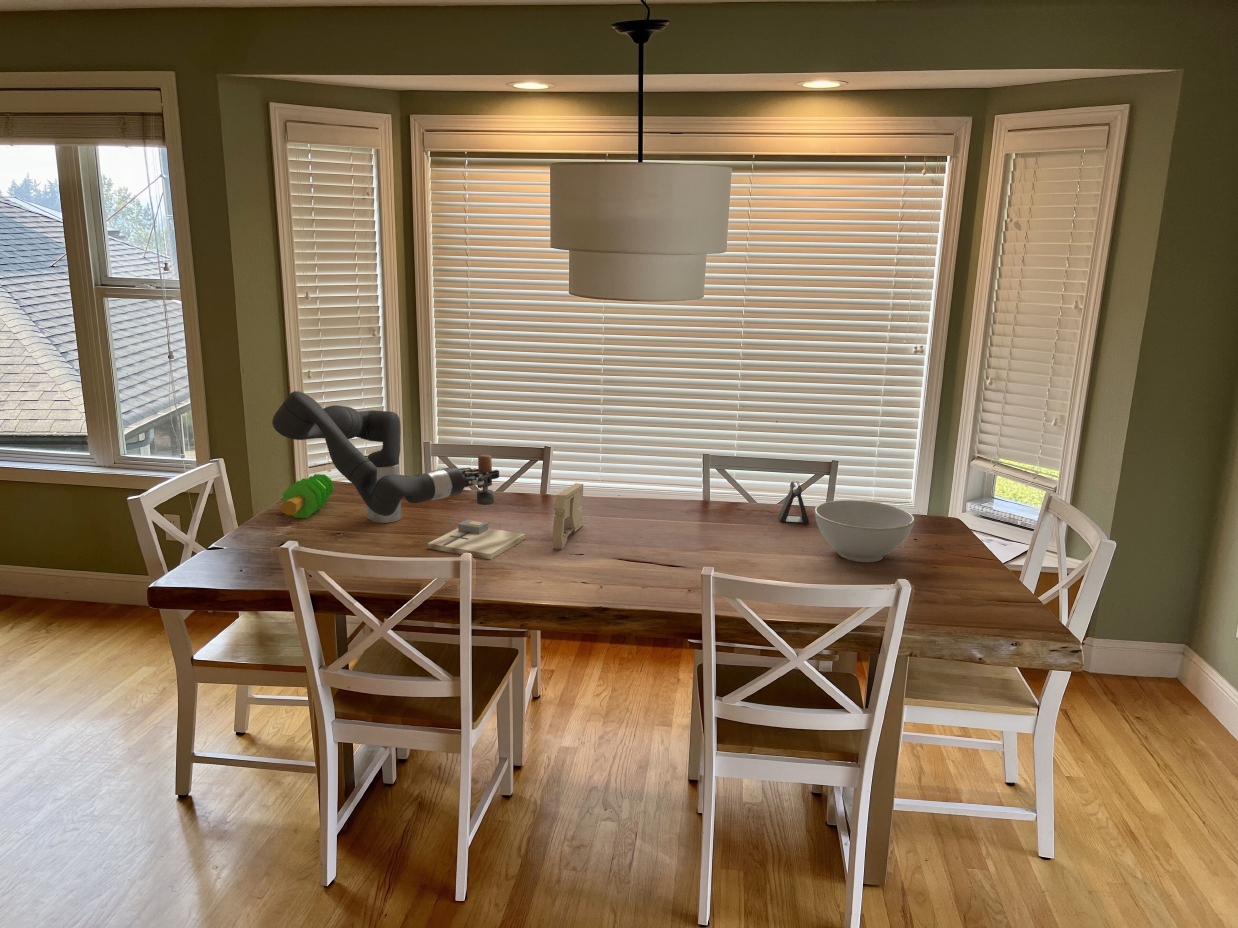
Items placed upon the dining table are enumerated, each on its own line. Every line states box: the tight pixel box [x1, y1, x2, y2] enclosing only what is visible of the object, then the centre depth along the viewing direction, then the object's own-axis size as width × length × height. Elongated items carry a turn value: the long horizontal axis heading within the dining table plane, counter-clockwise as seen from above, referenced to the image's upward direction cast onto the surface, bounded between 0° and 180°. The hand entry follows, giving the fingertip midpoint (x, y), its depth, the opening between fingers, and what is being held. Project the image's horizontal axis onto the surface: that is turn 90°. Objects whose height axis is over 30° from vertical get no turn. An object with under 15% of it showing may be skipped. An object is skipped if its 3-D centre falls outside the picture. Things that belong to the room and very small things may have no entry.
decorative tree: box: [280, 473, 334, 519], centre depth 280 cm, size 11×12×30 cm
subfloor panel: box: [427, 527, 526, 560], centre depth 253 cm, size 20×19×2 cm
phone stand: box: [778, 480, 810, 525], centre depth 280 cm, size 9×6×12 cm, turn 84°
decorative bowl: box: [814, 499, 916, 563], centre depth 250 cm, size 27×27×12 cm
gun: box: [551, 482, 584, 550], centre depth 259 cm, size 24×3×15 cm, turn 168°
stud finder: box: [457, 518, 489, 534], centre depth 260 cm, size 7×5×2 cm
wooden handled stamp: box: [476, 454, 495, 506], centre depth 243 cm, size 5×5×13 cm
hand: (493, 472), depth 245 cm, fingers closed on wooden handled stamp, 3 cm apart
